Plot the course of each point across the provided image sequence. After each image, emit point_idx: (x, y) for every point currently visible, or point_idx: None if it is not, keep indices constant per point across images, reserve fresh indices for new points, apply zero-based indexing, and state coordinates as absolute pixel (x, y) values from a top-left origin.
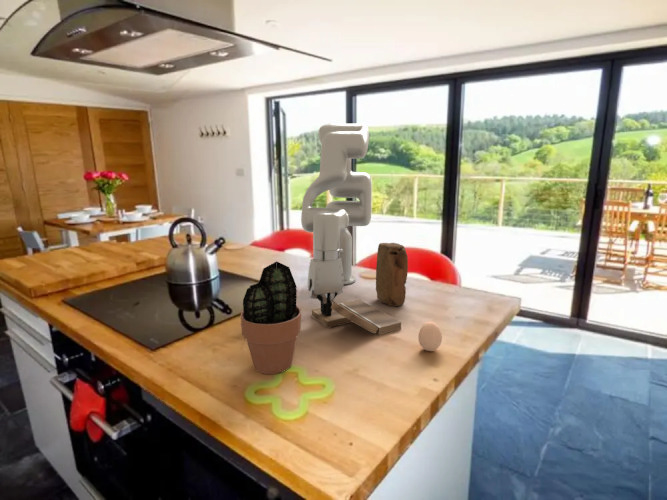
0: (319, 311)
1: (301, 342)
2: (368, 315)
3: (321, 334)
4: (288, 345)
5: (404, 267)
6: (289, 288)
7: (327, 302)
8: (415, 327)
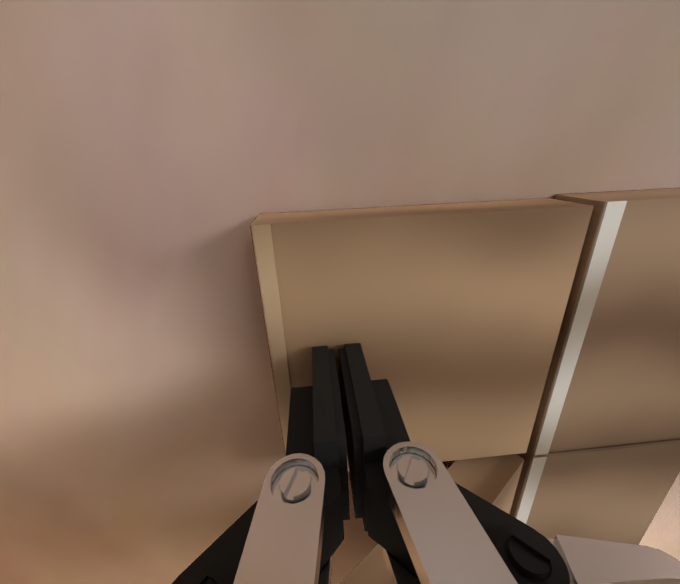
0: (312, 299)
1: (91, 520)
2: (574, 479)
3: (226, 484)
4: None
5: None
6: None
7: (359, 494)
8: (648, 537)
